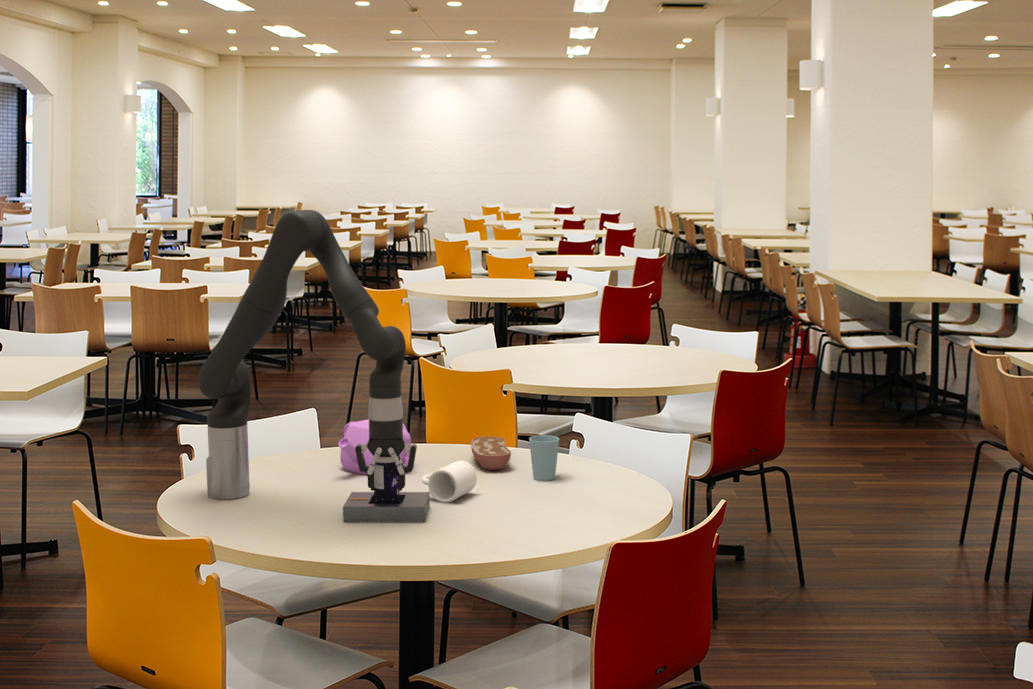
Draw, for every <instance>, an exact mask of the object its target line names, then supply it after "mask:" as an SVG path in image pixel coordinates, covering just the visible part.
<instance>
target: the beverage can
mask: <svg viewBox="0 0 1033 689" xmlns="http://www.w3.org/2000/svg"><path fill="white" fill-rule="evenodd" d="M398 475H399V471H398V469H397V466H396V462H395V461H394V459H393V457H377V460H376V462H375V466H374V491H373V492H374V504H399V503H400V494H399V492H400V491H398Z"/></svg>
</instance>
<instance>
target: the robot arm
mask: <svg viewBox="0 0 1033 689" xmlns="http://www.w3.org/2000/svg"><path fill="white" fill-rule="evenodd" d="M304 252H309V253H311V254H312V256H313V257H315V259H316V260H317V261H318V262H319V264H320V265H321V267H322V268H323V271H324V273H325V275H326V278H327V281H328V284H329V289H330V293H331V294H332V297H333V299H334V301H335V303H336V305H337V306H338V308H339V309H340V310H341V312H342V313H343V314H344V316H345V317H346V319H347V320H348V322H350V324H351V326H352V328H353V329H352V330H353V332H354V334H355V336H356V338H357V341H358V343H359V346H360V348H361V349H362V351H363V352H364V353H365V355H367V356H368V357H369V358H370V359H371V360H373V361H376V362H375V368H374V369H373V370H372V372H371V373H370V375H369V380H368V381H369V384H368V387H369V390H368V392H369V394H368V396H369V401H368V419H369V441H368V443H367V444H362V445H361V444H357V446H356V447H355V451H356V456H357V461H358V466H359V470H360V471H361V472H365V473H367V475H366V476H367V487H368V489H370V492H374V466H375V462H376V460H377V457H393V459H394V461H395V462H396V466H397V469H398V471H399V475H398V491H399V492H403V489H405V486H406V474H408V473H411V472H412V471H413V470H414V466H415V462H416V453H417V449H418V446H417V444H415V443H412V445H410V444H405V442H404V440H403V424H404V422H403V421H404V420H403V418H404V416H403V415H404V410H403V401H402V381H401V379H402V378H401V376H402V372H403V368H404V362H405V356H406V350H407V349H406V339H405V336H404V333H403V332H402V331H401V329H399V328H398V327H396V326H394V325H393V326H392V325H388V326H382V325H381V322H380V321H379V318H378V316H379V313H380V310H379V307H378V305H377V304H376V302H375V301H374V299H373V298H372V297H371V295H370V294H369V293H368V291H367V290H366V289H365V287H364V285H363V284H362V282H361V281H360V280H359V279H358V277H357V275H356V273H355V271H354V270H353V268H352V266H351V265H350V264H349V261H348V259H347V258H346V256H345V254H344V251H343V250H342V248H341V247H340V244H339V242H338V240H337V238H336V236H335V235H334V232H333V230H332V229H331V226H330V224H329V223H328V221H327V219H326V218H325V216H323V214H321V213H320V212H319V211H317V210H313V209H299V210H290V211H288V212H286V213H284V214H283V215H282V216H281V217H279V220H278V221H277V223H276V225H275V227H274V229H273V233H272V235H271V238H270V239H269V243H268V246H267V248H266V251H265V252H264V255H263V258H262V260H261V261H260V264H259V265H258V267H257V269H256V271H255V272H254V275H253V277H252V280H251V281H250V282H249V285H248V286H247V288H246V289H245V291H244V292H243V296H242V297H241V298H240V301H239V303H238V305H237V306H236V310H234V313H233V315H232V317H231V319H230V321H229V322H228V324H227V325H226V328H225V330H224V332H223V334H222V335H221V337H220V339H219V341H218V342H217V344H216V345H215V346H214V348H213V349H212V351H211V353H210V354H209V356H207V358H206V360H205V361H204V363H203V365H202V366H201V368H200V370H199V374H198V378H197V379H198V380H197V382H198V387H199V390H200V392H201V393H202V395H204V397H206V398H208V399H212V400H213V399H214V400H216V399H217V403H216V405H215V406H214V407H213V408H212V409H211V411H210V412H208V414H207V416H206V417H207V422H206V424H207V443H208V444H207V446H208V447H207V448H208V449H207V450H208V457H206V459H205V463H206V466H205V467H206V468H205V469H206V487H207V488H206V489H207V491H206V493H207V498H210V499H211V498H213V499H218V500H233V499H241V498H244V497H247V496H249V495H250V493H251V492H250V488H251V487H250V461H249V460H250V459H249V458H250V457H249V436H248V435H249V434H248V433H249V431H248V417H249V414H250V411H251V396H252V395H251V393H252V392H251V390H252V389H251V387H252V386H251V384H252V383H251V382H252V381H251V378H252V377H251V374H250V369H249V366H248V365H247V363H246V361H244V360H243V359H244V358H245V356H246V355H247V354H248V353H249V351H251V349H253V348H254V347H255V346H256V345H257V344H258V343H259V342H260V341H261V340H263V338H264V337H265V336H266V335H267V334H268V333H269V332H270V331H271V330H272V328H273V327H274V325H275V324H276V322H277V320H278V318H279V317H280V314H282V311H283V308H284V306H285V304H286V302H287V294H288V280H289V276H290V273H291V271H292V269H293V267H294V266H295V264H296V262H297V261H298V259H299V257H300V256H301V255H302V254H303V253H304ZM367 448H368V450H369V451H370V452H371V454H372V455H373V456H374V457H373V459H372V461H371V464H370V466H366V463H365V458H364V454H365V452H366V449H367ZM403 449H406V450H407V454H409V461H408V466H405V467H404V464H403V462H402V459H401V457H400V453H401V452H402V451H403Z"/></svg>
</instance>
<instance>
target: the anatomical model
mask: <svg viewBox="0 0 1033 689" xmlns="http://www.w3.org/2000/svg"><path fill="white" fill-rule="evenodd" d="M470 447H471V452H472V455H473V457H474V459H475V460H476V462H478V464H480V465H481V467H483V469H486V470H489V471H499V470H501V469H503V468H505V467H506V466H507V465H508V463H509V462H510V459H511V455H512V451H511V449H509V448H508V447H507V446H506V439H505V438H503V437H499V436H480V437H479V436H478V437H475V438H473V439H471V443H470Z"/></svg>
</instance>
